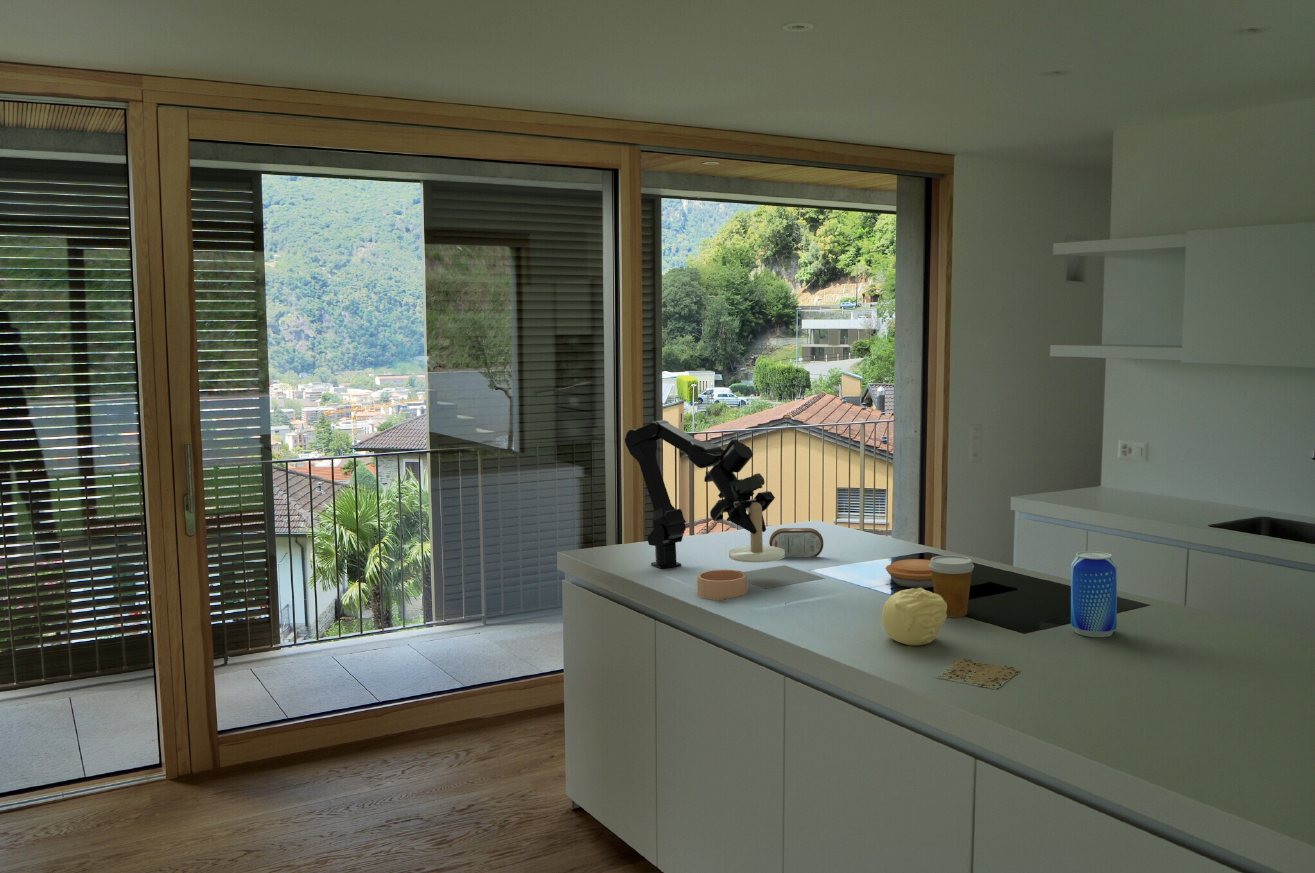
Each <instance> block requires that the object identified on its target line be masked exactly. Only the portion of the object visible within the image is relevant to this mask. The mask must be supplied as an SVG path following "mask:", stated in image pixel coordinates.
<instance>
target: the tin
mask: <svg viewBox="0 0 1315 873" xmlns="http://www.w3.org/2000/svg"><path fill="white" fill-rule="evenodd" d="M768 542H769V544H768V546H773V547H778V548H781V549H783V550H784V551H785V557H784V558H817V557H819V555H820V554H821V553H822V551H823V550H824V538H823V536H822V534H821V533H820V532H819V531H818V530H816V529H815V528H812V527H811V528H810V527H800V528H799V527H798V528H796V527H791V528H789V527H788V528H787V527H785V528H784V527H783V528H779V529H776V530H775V531H773V532H772V534H771V535H770V537H769V541H768Z"/></svg>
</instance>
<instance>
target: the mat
mask: <svg viewBox="0 0 1315 873" xmlns="http://www.w3.org/2000/svg"><path fill="white" fill-rule="evenodd" d="M743 572H744V573H746V574H747V584H751V585H753V586H757V587H759V588H762V589H765V590H767V589H774V588H777V587H784V586H790V585H795V584H796V585H797V584H801V583H807V582H812V581H818V580H824V579H825V580H826V578H825V577H823V576H820V575H818V574H817V575H816V574H814V573H810V572H808V571H804V570H801V569H797V568H795V567H791V566H788V565H786V564H784V565H778V566H771V567H766V568H764V567H763V568H760V569H759V568H758V569H754V570H749V571H743Z"/></svg>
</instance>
